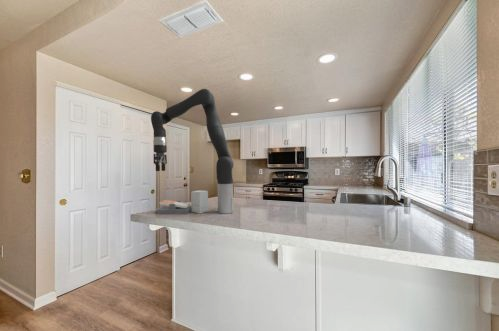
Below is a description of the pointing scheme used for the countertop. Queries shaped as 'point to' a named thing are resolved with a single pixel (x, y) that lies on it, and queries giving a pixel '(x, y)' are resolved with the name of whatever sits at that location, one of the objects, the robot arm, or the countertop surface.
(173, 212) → the breaker panel
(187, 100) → the robot arm
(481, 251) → the countertop surface
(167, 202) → the breaker rocker
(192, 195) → the supplement box
